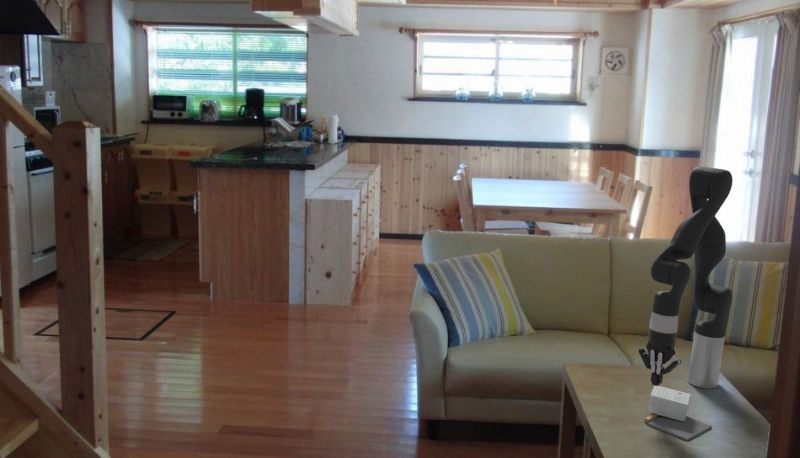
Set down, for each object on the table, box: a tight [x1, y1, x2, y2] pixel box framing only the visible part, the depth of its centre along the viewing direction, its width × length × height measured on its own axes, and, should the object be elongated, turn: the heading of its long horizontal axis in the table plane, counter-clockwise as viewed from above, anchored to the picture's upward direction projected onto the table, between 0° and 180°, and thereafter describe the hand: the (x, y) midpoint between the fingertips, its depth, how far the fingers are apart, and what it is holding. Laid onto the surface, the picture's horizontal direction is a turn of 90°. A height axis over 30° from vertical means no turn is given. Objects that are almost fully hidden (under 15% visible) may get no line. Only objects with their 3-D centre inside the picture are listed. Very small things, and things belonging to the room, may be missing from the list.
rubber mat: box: [647, 415, 713, 442], centre depth 218 cm, size 14×12×1 cm
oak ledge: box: [644, 413, 661, 424], centre depth 223 cm, size 12×1×1 cm, turn 132°
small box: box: [647, 385, 692, 422], centre depth 223 cm, size 8×6×10 cm
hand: (655, 384), depth 222 cm, fingers closed
